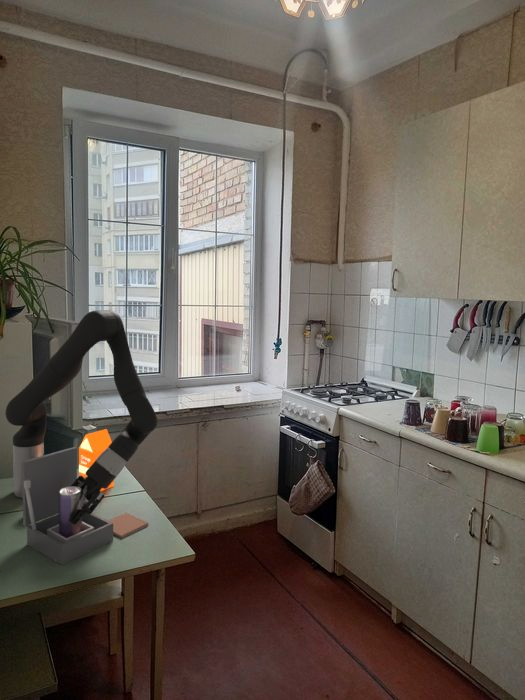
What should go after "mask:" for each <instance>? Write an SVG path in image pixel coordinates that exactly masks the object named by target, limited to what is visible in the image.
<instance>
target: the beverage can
mask: <svg viewBox="0 0 525 700" xmlns="http://www.w3.org/2000/svg"><path fill="white" fill-rule="evenodd" d="M81 497H82V492H81V488H79V487H74V486H72V487H66V488H63V489H61V490H60V491H59V513H58V514H59V534H60V535H61V536H63V537H65V538H69V537H71V536H73V535H75V534H78V533H80V532H82V517H81V519H80V520H79V521H78V522H77V523H76V524H75V525H74V524H72V523H71V522H70V521H69V519H70V518H71V516H72V515H73V514H74V513H75V511H76V510H77V509H79V507H80V504H81V501H80V500H81Z"/></svg>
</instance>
